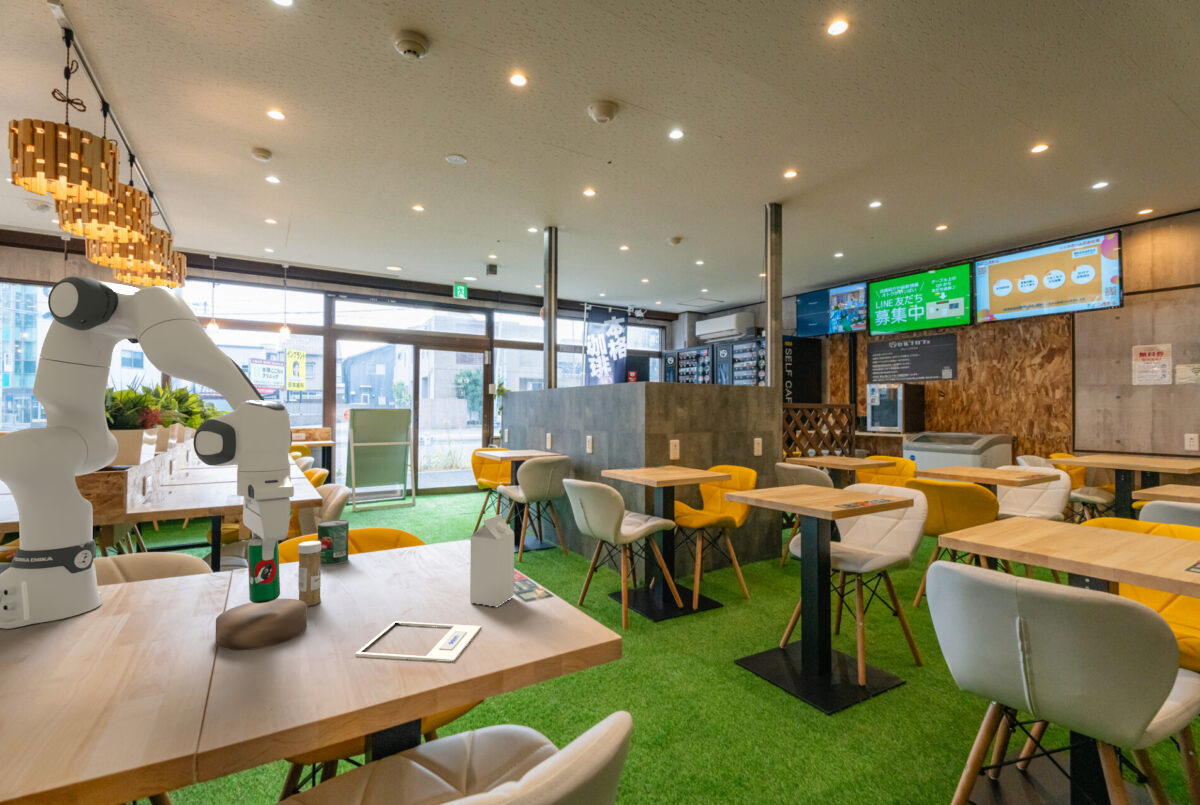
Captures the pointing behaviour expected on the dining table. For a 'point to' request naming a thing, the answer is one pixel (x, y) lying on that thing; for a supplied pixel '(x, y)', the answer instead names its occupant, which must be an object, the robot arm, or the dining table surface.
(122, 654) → the dining table surface
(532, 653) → the dining table surface
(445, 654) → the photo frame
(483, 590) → the milk carton
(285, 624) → the walnut riser
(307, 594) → the sprinkles bottle
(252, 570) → the soda can
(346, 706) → the dining table surface
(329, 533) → the canned tomato
